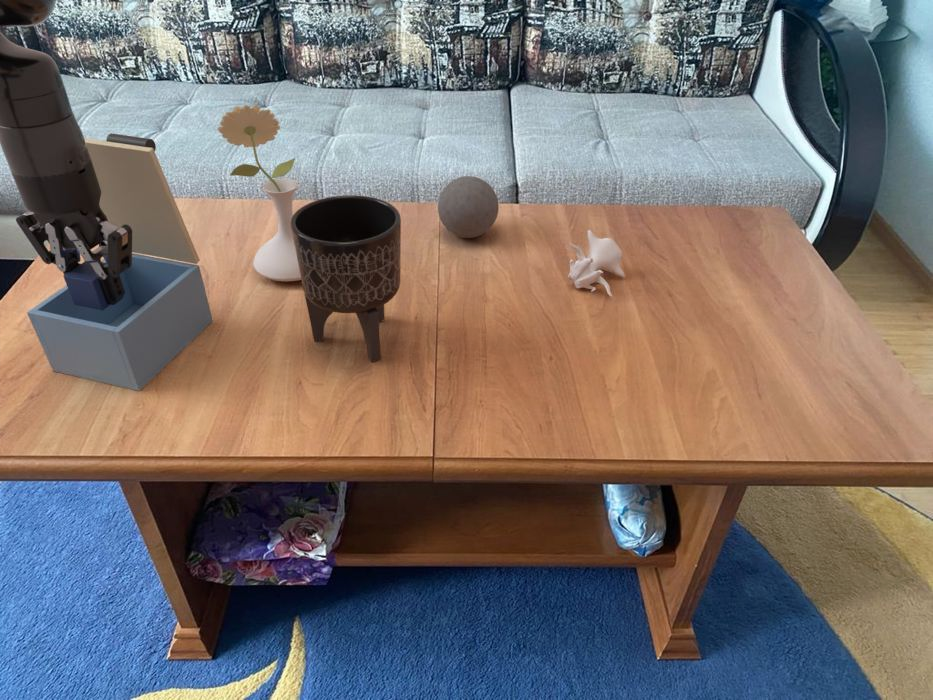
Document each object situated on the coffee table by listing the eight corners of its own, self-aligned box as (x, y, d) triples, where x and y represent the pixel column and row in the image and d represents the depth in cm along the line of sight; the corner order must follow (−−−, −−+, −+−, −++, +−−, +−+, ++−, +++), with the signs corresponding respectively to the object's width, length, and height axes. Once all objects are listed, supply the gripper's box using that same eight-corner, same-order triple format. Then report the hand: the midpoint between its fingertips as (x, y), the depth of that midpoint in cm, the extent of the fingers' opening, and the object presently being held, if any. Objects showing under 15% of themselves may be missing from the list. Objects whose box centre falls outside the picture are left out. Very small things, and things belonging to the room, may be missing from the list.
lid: (149, 151, 76) (174, 128, 79) (55, 137, 79) (83, 116, 82) (196, 264, 88) (216, 240, 92) (114, 249, 91) (136, 226, 94)
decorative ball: (454, 253, 110) (455, 196, 104) (428, 228, 117) (427, 172, 111) (507, 241, 114) (511, 184, 108) (479, 216, 121) (481, 162, 115)
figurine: (638, 268, 106) (630, 284, 97) (600, 295, 110) (588, 313, 101) (599, 217, 105) (587, 229, 97) (561, 246, 109) (546, 260, 100)
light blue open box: (139, 391, 82) (118, 332, 77) (52, 370, 85) (26, 312, 80) (213, 320, 94) (199, 265, 89) (135, 305, 97) (116, 250, 92)
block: (102, 310, 80) (92, 281, 78) (74, 304, 81) (62, 275, 78) (125, 293, 83) (116, 264, 81) (98, 287, 84) (87, 259, 81)
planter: (301, 369, 86) (281, 244, 75) (315, 311, 96) (299, 194, 86) (404, 368, 87) (398, 243, 76) (407, 311, 97) (402, 194, 86)
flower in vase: (336, 252, 110) (319, 93, 95) (322, 290, 101) (301, 121, 86) (256, 249, 110) (226, 90, 95) (234, 287, 101) (197, 118, 86)
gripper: (-36, 164, 70) (26, 304, 80) (81, 182, 67) (129, 326, 77) (22, 139, 76) (73, 273, 86) (131, 155, 73) (170, 292, 83)
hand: (99, 297), depth 82 cm, fingers closed on block, 4 cm apart
